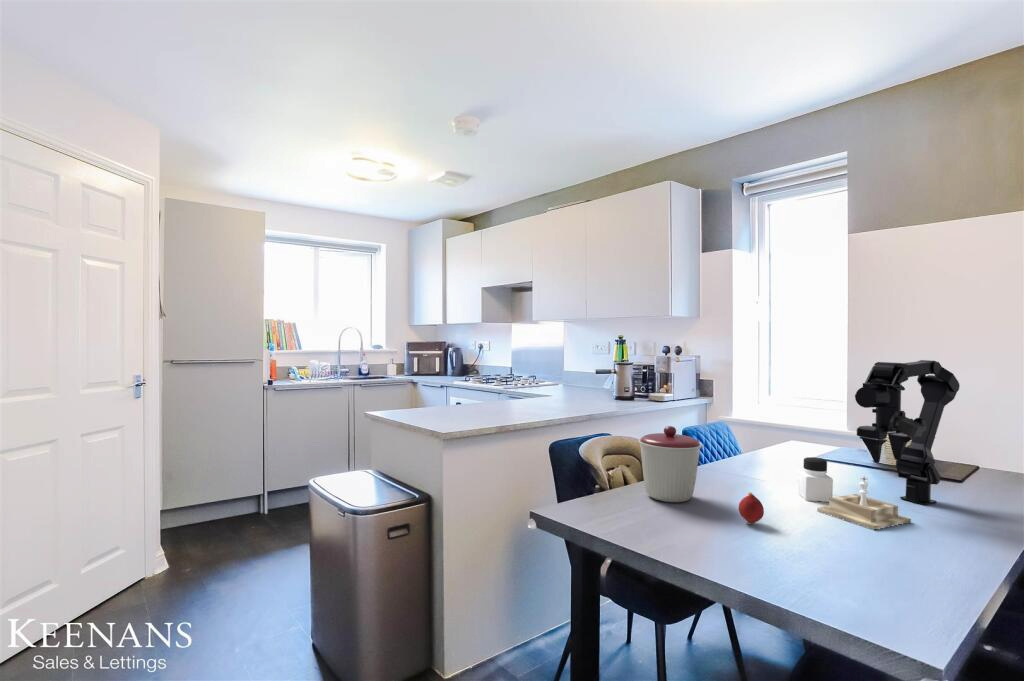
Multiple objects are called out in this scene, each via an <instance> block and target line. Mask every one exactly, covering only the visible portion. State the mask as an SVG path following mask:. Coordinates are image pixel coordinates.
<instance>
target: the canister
mask: <svg viewBox="0 0 1024 681" xmlns="http://www.w3.org/2000/svg"><path fill="white" fill-rule="evenodd" d="M638 443H639V444H640V454H641V455H640V457H641V465H642V476H643V484H644V489H645V492H646V493H647V495H648V496H649V497H650V498H651V499H654V500H657V501H659V502H660V501H661V502H666V503H684V502H687V501H689V500H690V499H691V498H692V497H693V495H694V492H695V487H696V481H697V472H698V466H699V459H700V452H701V448H702V447H703V443H702V442H700V441H698V439H696V438H694V437H692V436H688V435H683V434H679V433H678V434H677V429H676V428H675V427H674V426H672V425H667V426H665V427H664V428H663V432H662V433H661V432H659V433H649V434H645V435H644V436H642V437H640V438H638Z"/></svg>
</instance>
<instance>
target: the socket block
mask: <svg viewBox="0 0 1024 681" xmlns="http://www.w3.org/2000/svg"><path fill="white" fill-rule="evenodd" d="M860 501H861V494H858V493H854V494H846V495H840V496H832V498H829V502H828V503H829V504H828V505H826V506H819V507H817V508H816V509H817V511H816V512H818V511H820V512H819V513H821V512H823V513H822V514H824V513H826V514H825V515H827V514H829V515H828V516H830V515H832V516H831V517H833V516H835V517H834V518H836V517H838V518H837V519H839V518H841V519H840V520H842V519H844V520H843V521H845V520H847V521H846V522H848V521H850V522H849V523H851V522H853V523H852V524H854V523H856V524H855V525H857V524H859V525H858V526H860V525H862V526H861V527H863V526H865V527H864V528H866V527H868V528H867V529H869V528H871V529H870V530H872V529H878V530H880V529H879V528H883V527H888V526H892V525H897V526H899V525H898V524H902V523H907V522H911V523H912V518H910V517H906V516H903V515H899V505H896V504H893V503H889V502H886V501H883V500H879V499H875V498H872V497H869V496H866V501H867V507H865V506H862V505H860ZM907 524H908V523H907ZM902 525H903V524H902ZM892 527H893V526H892ZM888 528H889V527H888ZM883 529H884V528H883Z"/></svg>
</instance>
